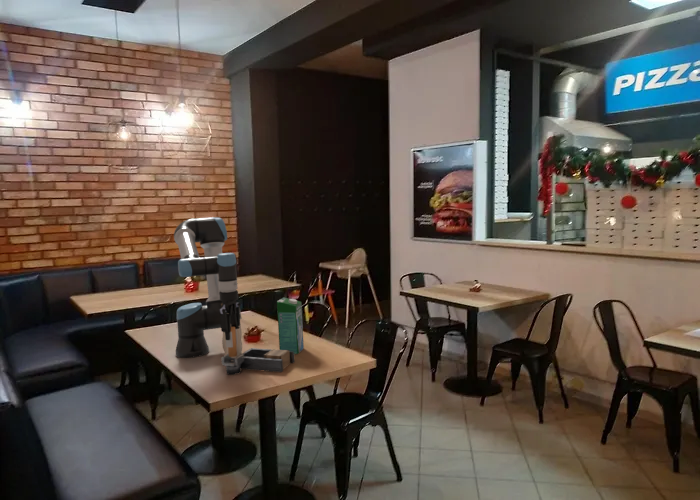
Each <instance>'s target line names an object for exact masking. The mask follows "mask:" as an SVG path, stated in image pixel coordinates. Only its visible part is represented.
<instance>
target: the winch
mask: <svg viewBox="0 0 700 500" xmlns="http://www.w3.org/2000/svg"><path fill="white" fill-rule="evenodd" d="M224 355H225V354H224ZM243 362H244V355H243V354H241V355H240V356H238V357H236V358H234V357H233V358H231V357H229V354H227V355H225V356H222V357H221V365H222V366H225V369H226V370H225V371H226V374H227V375H233V376H234V375H239V374H240V373H241V372H242V369H241V363H243Z"/></svg>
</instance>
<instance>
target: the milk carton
mask: <svg viewBox="0 0 700 500" xmlns="http://www.w3.org/2000/svg"><path fill="white" fill-rule="evenodd" d="M302 307H303V306H302V301H299V300H297V299H295V298H288V297H282V298H280V299H279V300H277V301H276V308H277V309H276V310H277V325H278V329H277V330H278V344H279V345H278V346H279V349H278V350H289V351H294V355H299V354H300V353H301V352H302V351H303V349H304V348H305V347H304V331H303V330H304V327H303V326H304V325H303V308H302Z"/></svg>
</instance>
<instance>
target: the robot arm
mask: <svg viewBox="0 0 700 500" xmlns="http://www.w3.org/2000/svg"><path fill="white" fill-rule="evenodd" d="M173 239H174V242H175V244H176V245H177V247H178V251H179V256H180V259H179V260H178V261H177V269H178V270H177V271H178V275H179V277H182V278H190V277H199V276H206V285H207V294H208V298H207V299H206V301H205V305H202V303H201V302H192V303H188V304H185V305H182V306H179V307H178V308H177V310H176V322H177V323H176V324H177V335H178V336H177V337H178V338H177V344H176V347H175V356H176V357H177V358H182V359H183V358H184V359H191V358H196V357H202V356H204V355H207V354H208V353H209V351H210V348H209V345H208V342H207V339H206V338H205V332H204V331H208V330H216V329H220V331H221V332H222V333H223V332H225V337H226V347H233V341H232V332H230V331H231V327H235V332H236V345H237V344H238V337H237V329H239V328H240V327H238V326H240V324H241V319H240V312H241V303H240V302H238V301H237V300H239V291H238V285H239V284H238V274H237V271H238V270H237V259H236V257H237V256H236V254H235V253H234V252H223V247H224V245H225V242H226V241H227V240H228V231H227V227H226V223H225V221H224V219H223V218H221V217H200V218H189V219H188V218H187V219H186V220H184V221H182V222H180V223H179V225H177V227H176V228H175V230H174V232H173ZM196 243H199V244H200V245H199V246H200V248H202V249H203V254H204V257H200V254H199V251H198V247H197V245H196ZM222 303H223V304H222ZM221 304H222V305H221ZM227 313H229V314H227Z"/></svg>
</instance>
